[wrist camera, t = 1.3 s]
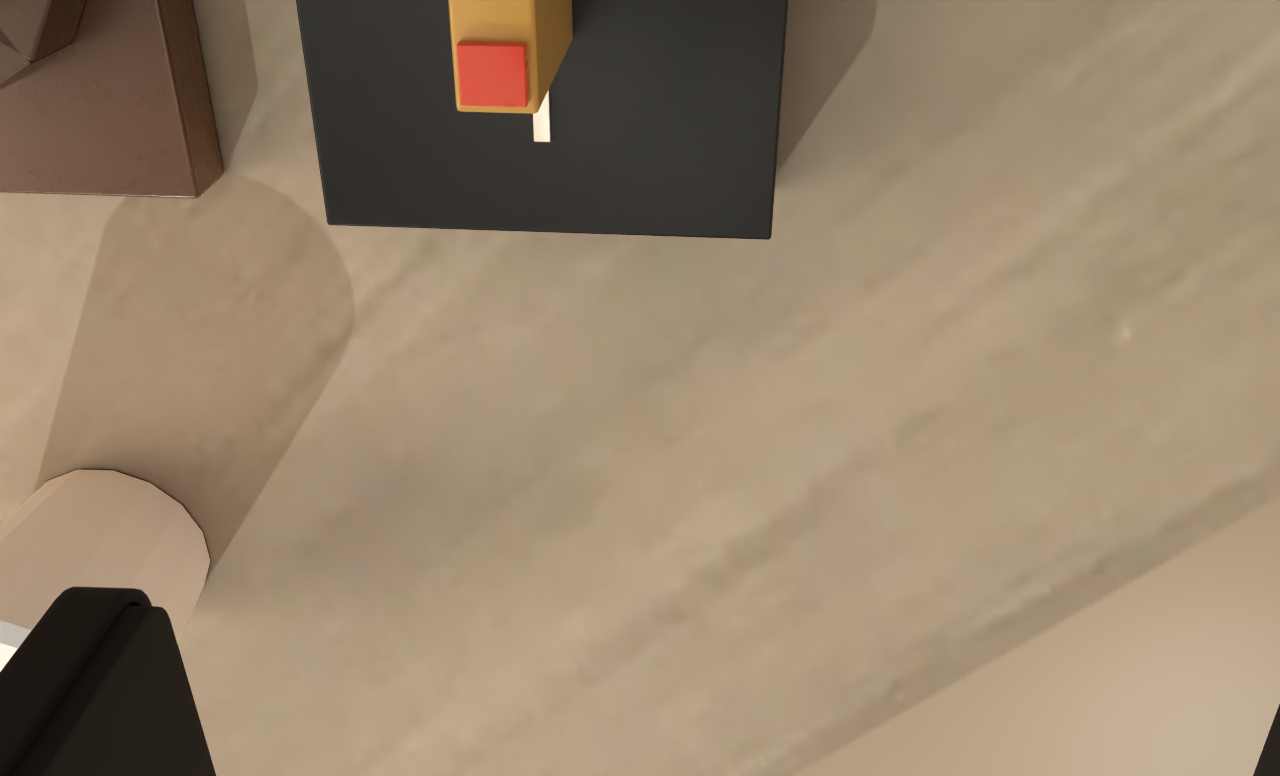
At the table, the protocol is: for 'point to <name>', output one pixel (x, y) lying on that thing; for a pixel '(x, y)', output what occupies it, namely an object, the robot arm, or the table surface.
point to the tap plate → (553, 121)
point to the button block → (104, 99)
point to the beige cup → (97, 549)
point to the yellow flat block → (507, 52)
